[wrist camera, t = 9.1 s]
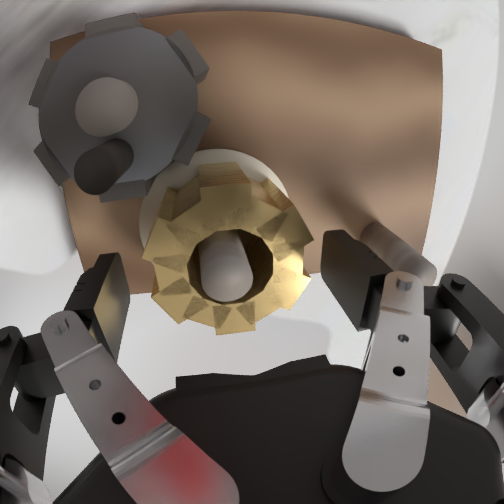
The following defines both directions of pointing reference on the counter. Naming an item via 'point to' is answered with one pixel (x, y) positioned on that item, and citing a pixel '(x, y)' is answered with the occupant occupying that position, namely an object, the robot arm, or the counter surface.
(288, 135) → the gear board
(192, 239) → the brass gear
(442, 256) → the counter surface
